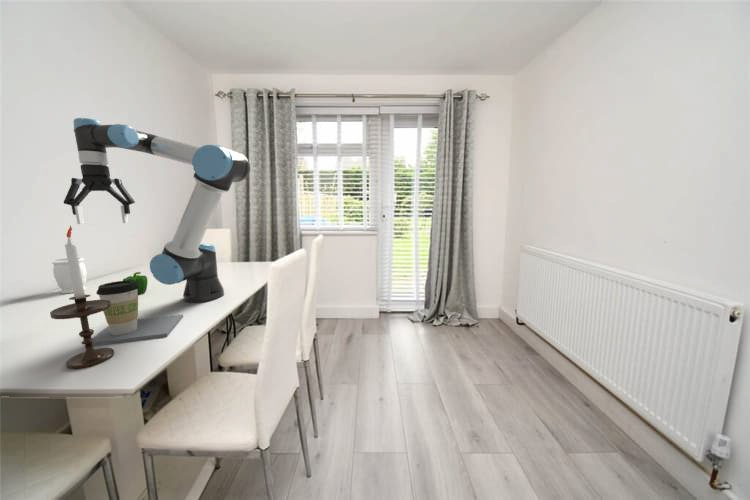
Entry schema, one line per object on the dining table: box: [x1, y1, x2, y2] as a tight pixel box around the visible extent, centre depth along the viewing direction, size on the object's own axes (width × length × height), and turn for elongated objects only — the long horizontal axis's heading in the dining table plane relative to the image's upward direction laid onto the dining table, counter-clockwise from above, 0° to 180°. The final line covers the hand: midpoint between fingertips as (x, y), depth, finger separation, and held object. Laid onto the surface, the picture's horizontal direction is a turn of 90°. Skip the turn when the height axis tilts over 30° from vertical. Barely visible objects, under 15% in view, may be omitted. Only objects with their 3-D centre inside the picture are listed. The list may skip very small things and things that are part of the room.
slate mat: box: [92, 314, 184, 347], centre depth 94 cm, size 20×16×1 cm
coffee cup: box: [95, 280, 139, 335], centre depth 90 cm, size 10×10×15 cm
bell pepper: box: [122, 271, 148, 295], centre depth 131 cm, size 8×8×10 cm
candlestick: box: [49, 225, 115, 370], centre depth 74 cm, size 11×11×35 cm
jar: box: [51, 257, 87, 294], centre depth 135 cm, size 11×10×15 cm
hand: (104, 223), depth 110 cm, fingers open, 13 cm apart
